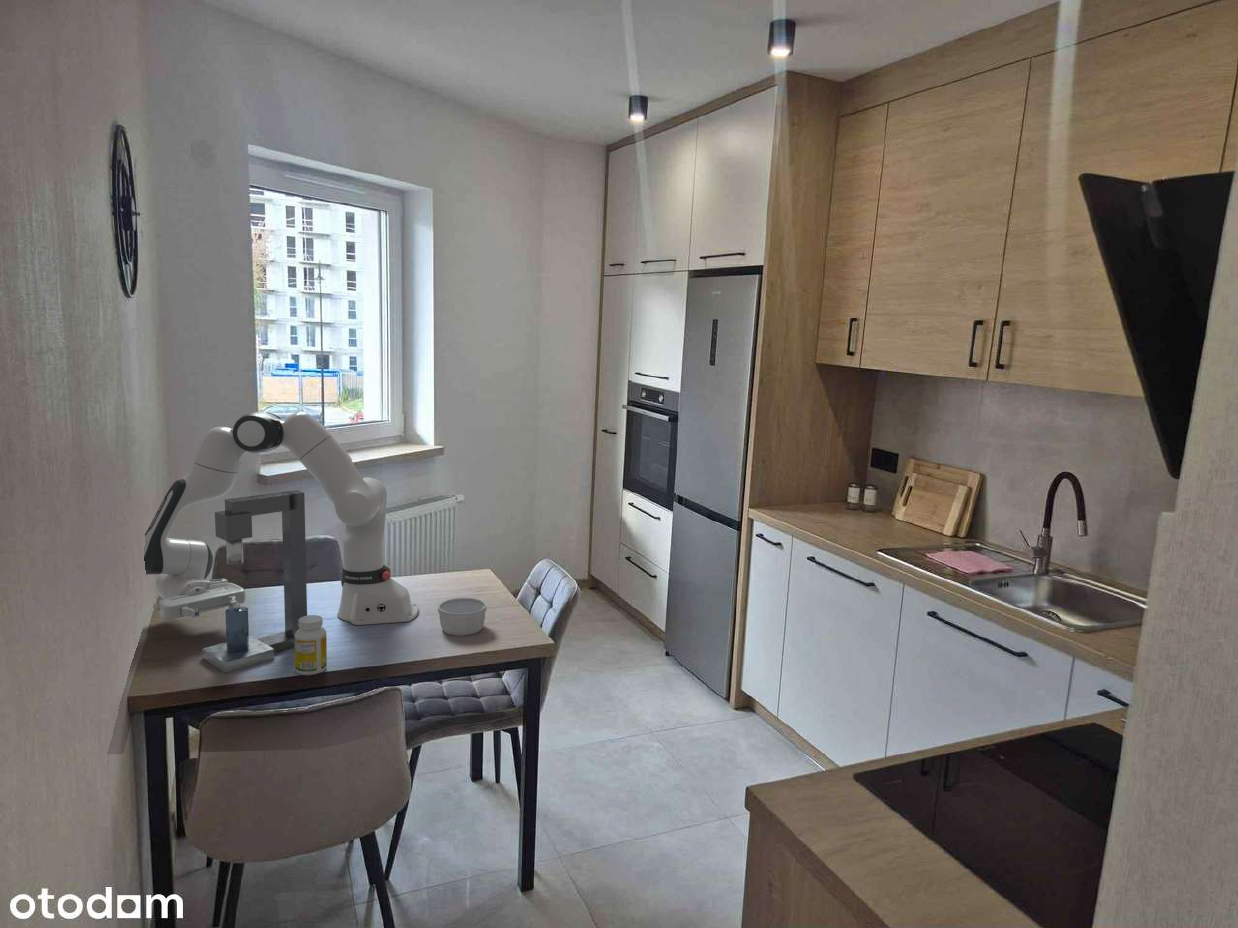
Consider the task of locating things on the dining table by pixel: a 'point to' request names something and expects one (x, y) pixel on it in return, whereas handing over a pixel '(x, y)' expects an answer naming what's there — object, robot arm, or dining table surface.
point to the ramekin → (462, 616)
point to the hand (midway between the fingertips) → (215, 609)
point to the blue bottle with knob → (237, 629)
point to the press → (239, 526)
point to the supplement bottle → (310, 646)
